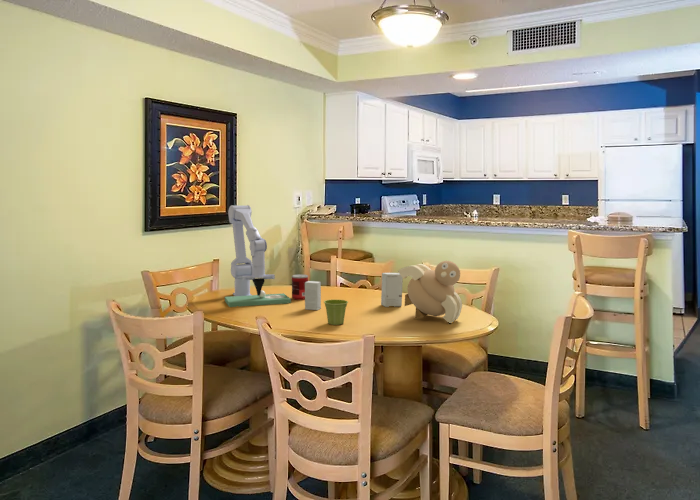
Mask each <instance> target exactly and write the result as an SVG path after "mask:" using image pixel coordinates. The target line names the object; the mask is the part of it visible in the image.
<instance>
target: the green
mask: <svg viewBox="0 0 700 500" xmlns="http://www.w3.org/2000/svg"><path fill="white" fill-rule="evenodd" d="M224 302H225V304H226V305H227V306H228V307H229V308H235V307H237V306H238V307H251V306H254V307H255V306H266V305H267V306H268V305H283V304H291V303H292V297H289V296H288V295H287V294H286V293H284V292H283V293H269V294H268V293H265V297H264V298H260V297H259V296H258V295H257V294H251V295H248V296H234V295H233V296H232V295H231V296H224Z"/></svg>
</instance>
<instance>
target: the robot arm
mask: <svg viewBox="0 0 700 500" xmlns="http://www.w3.org/2000/svg"><path fill="white" fill-rule="evenodd" d="M227 212H228V221H229V224H232V233H233V241H234V249H235V250H234V251H235V259H233V260H232V261H231V262H230V274H231V276H232V277H233V278H234V292H232V295H233V296H248V295H252V293H251V281H252V283H253V285H254V287H255V290H256V295H258V296H259V295H260V293H261V290H262V288H263V286H264V284H265V280H275V278H276V277H275V274H273V273H272V274H266V271H265V270H266V266H265V265H266V264H265V263H266V261H265V258H266V257H265V256H266V255H265V253H266V252H267V250H268V243H267V240H266V239H265V238H263V237H262V236H261V235H260V232H259V230H258V228H257V227H255V225H254V224H253V220H252V212H253V211H252V207H251V206H250V205H249V204H247V205H232V204H231V205H230V206H229V208H228V211H227ZM244 228H245V229H246V231H245V232H244ZM244 233H245V234H246V237H247V239H248V241H249V251H250V256H251V259H250V258H249V257H247V251H246V250H247V249H246V243H245V242H246V241H245V234H244Z"/></svg>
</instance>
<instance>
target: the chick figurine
mask: <svg viewBox="0 0 700 500" xmlns="http://www.w3.org/2000/svg"><path fill="white" fill-rule="evenodd" d="M397 273H399V274H400V275H401V276H402V278H403V280H404V279H406V278H407V277H410V278H411V279H410V280H409V282H408V284H407V288H406V289H407V294H404V307H407V306H412V305H413V306H414V307H415V313H414V314H415V316H414V319H415V318H416V319H420V318H424V317H426V316H432V317H437V316H438V317H440V316H442V318H443V319H444V320H445V321H446V322H447V323H448V322H449V323H452V322H453V323H454V322H455V321H457V320H458V319H459V317H460V315H461V312H462V309H463V302H462V301H463V300H462V299H461V297H460V295H459V294H458V293H457V292H456V289H455V287H454V285H455V284H457V283H458V281H459V280H460V278H461V270H460V268H459V266H458V265H457V264H456V263H455V262H453V261H450V260H442V261H440V262H438V263H437V264H436V266H435V269H431V267H430V266H428V265H426V264H424V263H418V264H415V265H414V264H413V265H408V266H404V267H402V268H400V269H398V270H397ZM449 323H448V324H449ZM453 323H452V324H453Z"/></svg>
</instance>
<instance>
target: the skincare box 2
mask: <svg viewBox="0 0 700 500" xmlns="http://www.w3.org/2000/svg"><path fill="white" fill-rule="evenodd" d="M403 281H404V279H403V278H402V276H401V275H400V274H399V272H382V273H381V293H380V295H381V296H380V299H381V300H380V305H381V306H383V307H385V308H390V307H389V306H394V307H402V306H403V305H402V302H403Z"/></svg>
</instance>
